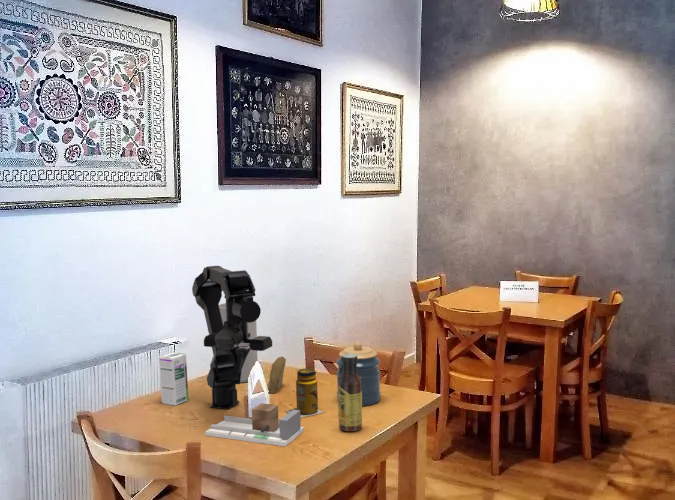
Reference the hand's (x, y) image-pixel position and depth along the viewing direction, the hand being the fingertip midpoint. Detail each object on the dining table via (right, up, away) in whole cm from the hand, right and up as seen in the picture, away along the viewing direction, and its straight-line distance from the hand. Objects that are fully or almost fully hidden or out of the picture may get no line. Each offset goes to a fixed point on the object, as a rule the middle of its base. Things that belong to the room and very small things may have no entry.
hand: (238, 372), depth 183 cm
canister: (+34, -11, +15) cm, 38 cm away
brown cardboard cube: (+8, -13, -13) cm, 20 cm away
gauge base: (+6, -14, -11) cm, 18 cm away
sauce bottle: (+31, -14, -9) cm, 35 cm away
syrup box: (-22, -12, +16) cm, 30 cm away
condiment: (+18, -13, +5) cm, 22 cm away
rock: (+7, -11, +28) cm, 31 cm away
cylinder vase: (-6, -10, +40) cm, 42 cm away
